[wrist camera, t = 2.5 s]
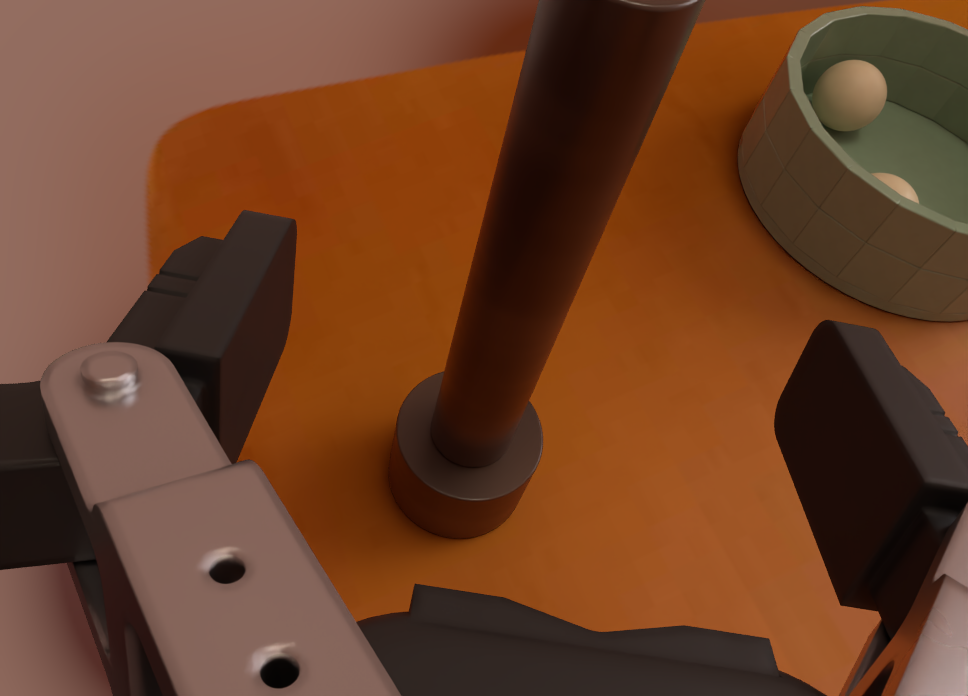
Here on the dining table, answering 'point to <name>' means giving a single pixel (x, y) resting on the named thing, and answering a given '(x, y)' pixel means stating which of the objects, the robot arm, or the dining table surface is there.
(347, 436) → the dining table surface
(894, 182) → the bead
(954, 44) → the bowl
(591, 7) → the pestle
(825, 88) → the bead
